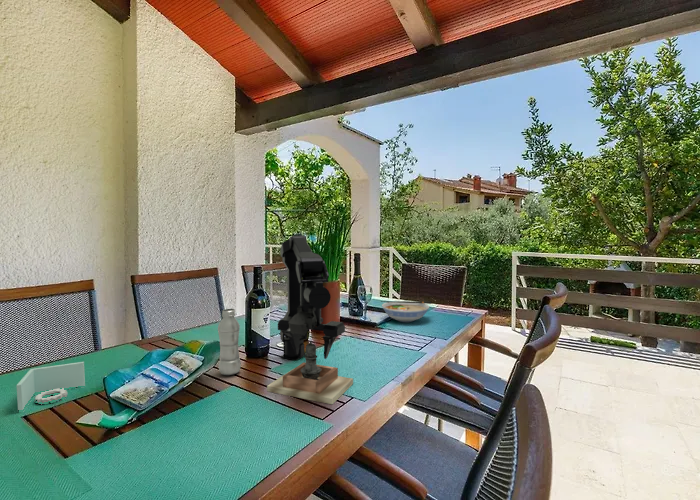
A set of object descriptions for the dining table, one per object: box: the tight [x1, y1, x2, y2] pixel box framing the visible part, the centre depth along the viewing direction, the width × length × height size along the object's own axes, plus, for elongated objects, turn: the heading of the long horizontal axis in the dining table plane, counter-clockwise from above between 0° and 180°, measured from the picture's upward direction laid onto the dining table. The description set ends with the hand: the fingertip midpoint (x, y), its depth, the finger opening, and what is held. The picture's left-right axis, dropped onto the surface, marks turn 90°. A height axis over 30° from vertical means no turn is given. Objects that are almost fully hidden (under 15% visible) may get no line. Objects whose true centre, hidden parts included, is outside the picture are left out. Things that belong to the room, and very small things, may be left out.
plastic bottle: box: [217, 308, 242, 376], centre depth 118 cm, size 6×7×20 cm
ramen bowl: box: [380, 300, 432, 323], centre depth 184 cm, size 25×23×8 cm
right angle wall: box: [16, 361, 86, 411], centre depth 101 cm, size 12×12×8 cm
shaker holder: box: [266, 362, 354, 405], centre depth 108 cm, size 20×14×4 cm
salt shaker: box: [301, 340, 321, 380], centre depth 108 cm, size 6×6×12 cm
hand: (311, 356), depth 108 cm, fingers open, 9 cm apart
